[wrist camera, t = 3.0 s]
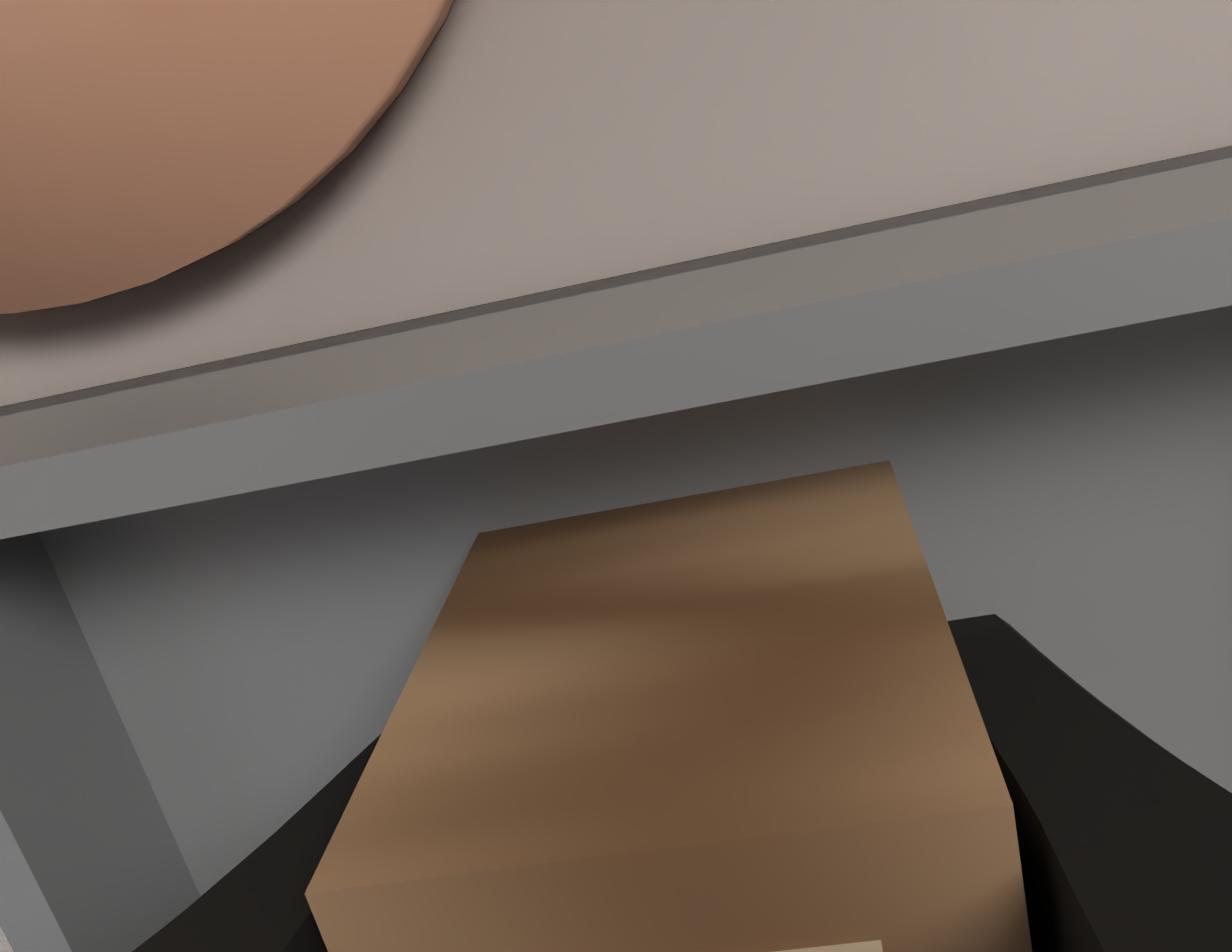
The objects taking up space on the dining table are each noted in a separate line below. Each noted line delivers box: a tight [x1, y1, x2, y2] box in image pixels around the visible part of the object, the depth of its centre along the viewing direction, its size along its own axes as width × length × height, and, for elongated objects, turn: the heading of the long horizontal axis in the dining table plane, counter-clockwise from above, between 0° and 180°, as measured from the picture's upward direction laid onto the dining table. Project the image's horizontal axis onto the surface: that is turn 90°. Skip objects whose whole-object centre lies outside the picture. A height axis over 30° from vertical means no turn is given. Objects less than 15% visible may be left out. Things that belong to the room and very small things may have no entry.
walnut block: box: [305, 460, 1032, 952], centre depth 9 cm, size 4×4×5 cm
